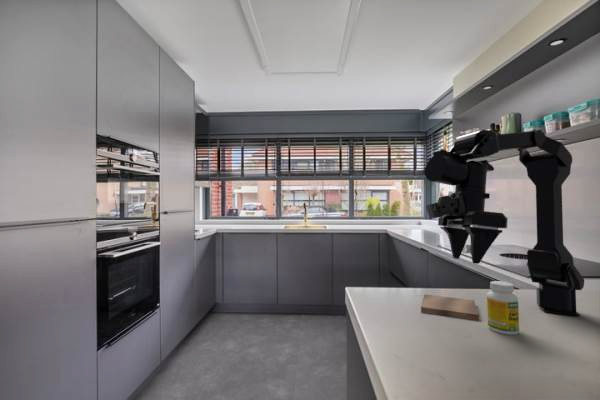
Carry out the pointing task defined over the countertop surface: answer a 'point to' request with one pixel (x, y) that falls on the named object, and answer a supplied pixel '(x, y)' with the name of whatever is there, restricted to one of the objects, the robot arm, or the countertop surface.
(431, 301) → the walnut board
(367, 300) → the countertop surface
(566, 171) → the robot arm
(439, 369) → the countertop surface
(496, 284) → the supplement bottle
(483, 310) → the countertop surface
